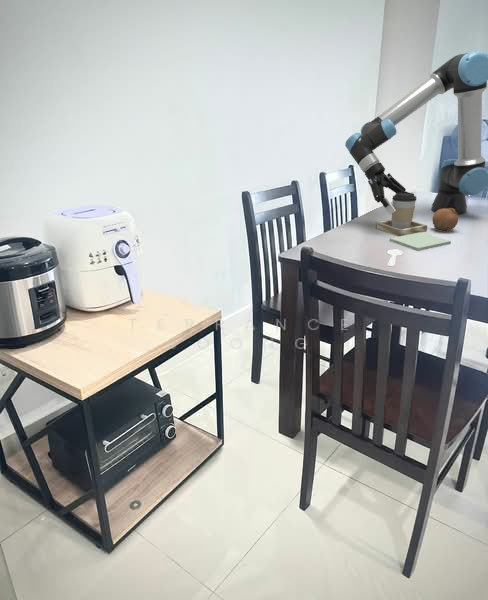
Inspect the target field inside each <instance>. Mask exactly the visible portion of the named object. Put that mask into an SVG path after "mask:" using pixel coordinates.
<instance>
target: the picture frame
mask: <svg viewBox="0 0 488 600" xmlns="http://www.w3.org/2000/svg"><path fill="white" fill-rule="evenodd" d="M375 229H376V230H377V231H378V230H379V231H382V232H385V233H387V234H390V235H394V236H395V237H399V236H404V235H409V234H414V233H419V232H423V233H427V231H428V224H424V223H420V222H418V221H413V220H412V221H411V225H410V228H406V229H398V228H394V227H392V219H387V220H382V221H377V222H375Z"/></svg>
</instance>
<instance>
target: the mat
mask: <svg viewBox="0 0 488 600" xmlns="http://www.w3.org/2000/svg"><path fill="white" fill-rule="evenodd" d="M389 242H392V243H395V244H397V245H399V246H400V245H401V246H403V247H406V248H408V249H412V250H415V251H417V252H419V251H423V250H428V249H433V248H437V247H442V246H446V245H450V244H451V242H452V241H451V240H449V239H448V240H447V239H445V238H442V237H438V236H435V235H432V234H428V233H427V232H419V233H414V234H409V235H404V236H395V237H390V238H389Z"/></svg>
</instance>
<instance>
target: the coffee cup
mask: <svg viewBox="0 0 488 600" xmlns="http://www.w3.org/2000/svg"><path fill="white" fill-rule="evenodd" d="M416 202H417V196H416V195H415V194H414V193H413V192H410V191H407V190H406V191H401V192H399V193H395V194H394V195H392V206H393V207H394V209H395V210H396V211H395V212H394V213H392V214H391V220H392V226H391V227H394V228H398V229H406V228H410V225H411V221H413V218H414V213H415V208H416V206H415V205H416Z"/></svg>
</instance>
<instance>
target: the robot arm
mask: <svg viewBox="0 0 488 600" xmlns="http://www.w3.org/2000/svg"><path fill="white" fill-rule="evenodd" d="M487 82H488V54H487V52H485V51H477V50H475V51H470V52H465V53H460V54H457V55H454V56H453V57H451V58H450V59H448V60H447V61H445V62H444V64H442V65H441V66H439V67H438V68H436V69H435V71H433V72H432V73H430V75H429V78H427V80H425V81H424V82H423V83H420V84H419V86H417V87H416V88H414V89H413V90H412V91H409V93H407V94H406V95H405V96H403V97H402V98H401V99H399V100H398V101H397V102H395V103H394V104H393V105H391V106H390V107H389V108H388V109H386V110H384V111H383V112H382V113H381V114H379V115H378V116H377V117H375V118H374V119H372V120H371V121H368V122H366V123H364V124H363V125H362V127H361V129H360V132H355V133H353V134H352V135H351V136H349V137H348V138H347V140H346V141H345V145H344V146H345V147H346V149H347V151H348V153H349V154H350V155H351V157H352V158H353V160H354V161H355V162H356V164H357V166H359V168H360V170H361V171H362V172H363V173H364V176H365V177H366V178H367V180H368V181H367V183H368V184H369V186H370V189H371V193H372V195H373V198H374V201H375V202H377V203H378V204H379V203H380V204H382V206H383V207H384V209H385V210H386V212H387V213H388V214H389V215H390V216H392V213H394V212H395V211H396V210H395V209H394V207H393V206H392V205H393V203H391V201H390V200H389V198H388V197H386V196H385V188H388V189H390V190H391V191H392V192H394V193H395V194H396V193H399V192H401V191H406V192H407V189H406V188H405V186H403V185H402V184H401V183H400V182H399V181H398V180H396V179H395V178H394V177H393V176H392V174H391V173H390V172H389V173H387V174H385V172H386V168H385V166H383V164H382V162H380V159H379V158H378V156H377V155H376V154H375V153H374V151H375V150H376V149H377V148H379V147H380V146H382V145H383V144H385V143H386V142H388V141H389V140H391V139H392V138H393V137H394V136H396V135H397V133H398V132H397V131H398V130H397V128H396V126H397V125H398V124H400V123H401V122H402V121H403V120H405V119H406V118H408V117H409V116H410V115H413V113H415V112H416V111H417V110H418V109H420V108H422V107H423V106H425V105H426V104H427V103H428V102H429V101H431V100H433V99H434V98H436V97H437V96H438V95H444V94H445V93H446V92H448V91H450V90H451V89H453V92H452V94H453V95H454V96H455V97H456V98H457V159H445V160H444V161H442V165H441V166H440V167H441V168H440V176H439V182H438V187H437V188H438V190H437V194H436V195H435V198H434V200H433V202H432V204H431V207H430V210H431V211H432V212H434V213H435V212H436V211H437V210H439V209H443V208H453V209H455V210H456V212H457V215H461V214H465V213H466V212H467V209H468V206H467V198H466V196H467V195H468V196H476V195H479V194H480V193H482V192H483V191H484V190H486V188H487V187H488V169H486V159H485V158H484V157H483V156H482V126H483V124H482V123H483V122H482V120H483V92H485V90H486V89H487V88H488V86H487V85H488V83H487Z"/></svg>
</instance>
